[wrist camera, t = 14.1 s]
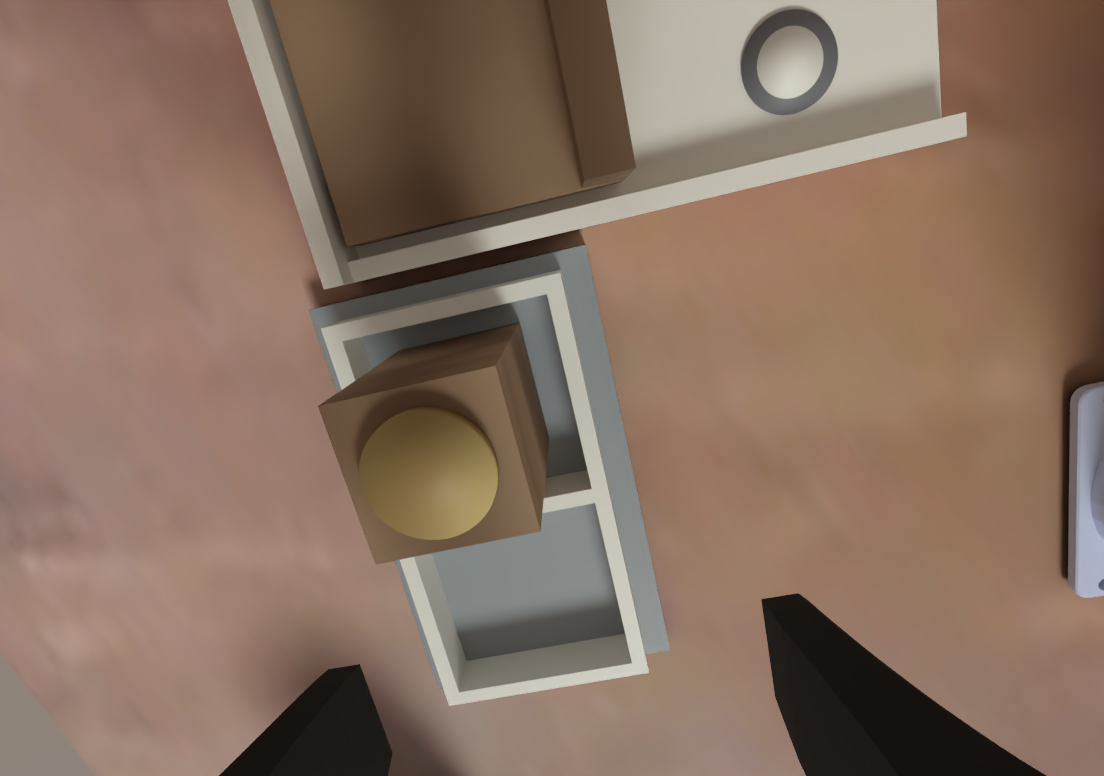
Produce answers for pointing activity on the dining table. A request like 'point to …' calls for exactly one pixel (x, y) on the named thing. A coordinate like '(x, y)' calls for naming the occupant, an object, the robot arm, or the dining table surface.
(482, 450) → the walnut pin
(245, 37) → the board
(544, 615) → the socket board
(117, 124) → the dining table surface
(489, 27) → the cover
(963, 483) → the dining table surface
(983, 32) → the dining table surface
